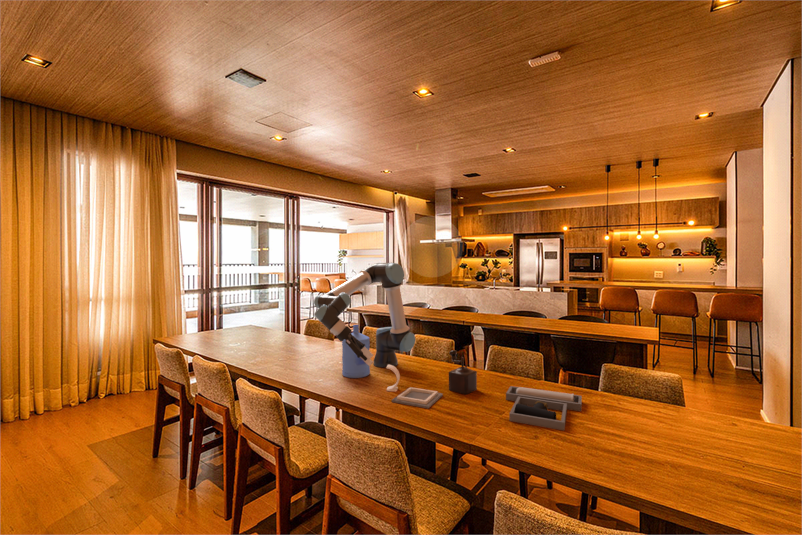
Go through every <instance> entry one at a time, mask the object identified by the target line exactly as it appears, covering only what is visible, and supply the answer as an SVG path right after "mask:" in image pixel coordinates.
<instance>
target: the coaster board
mask: <svg viewBox="0 0 802 535" xmlns="http://www.w3.org/2000/svg"><path fill="white" fill-rule="evenodd" d="M443 394H444V393H441V392H439V391H437V390H431V389H424V388H418V387H411V386H410V387H408V388H406V389H405V390H403V391H402V392H400V393H399V394H398V395H397V396H395V397H394V398H392V399H391V403H393V404H394V403H395V404H401V405H407V406H413V407H418V408H424V409H430V408H431V407H433V405H434V404H435V403H436V402H437V401H439V400H440V399H441V398H442V397H443V396H444V395H443Z"/></svg>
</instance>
